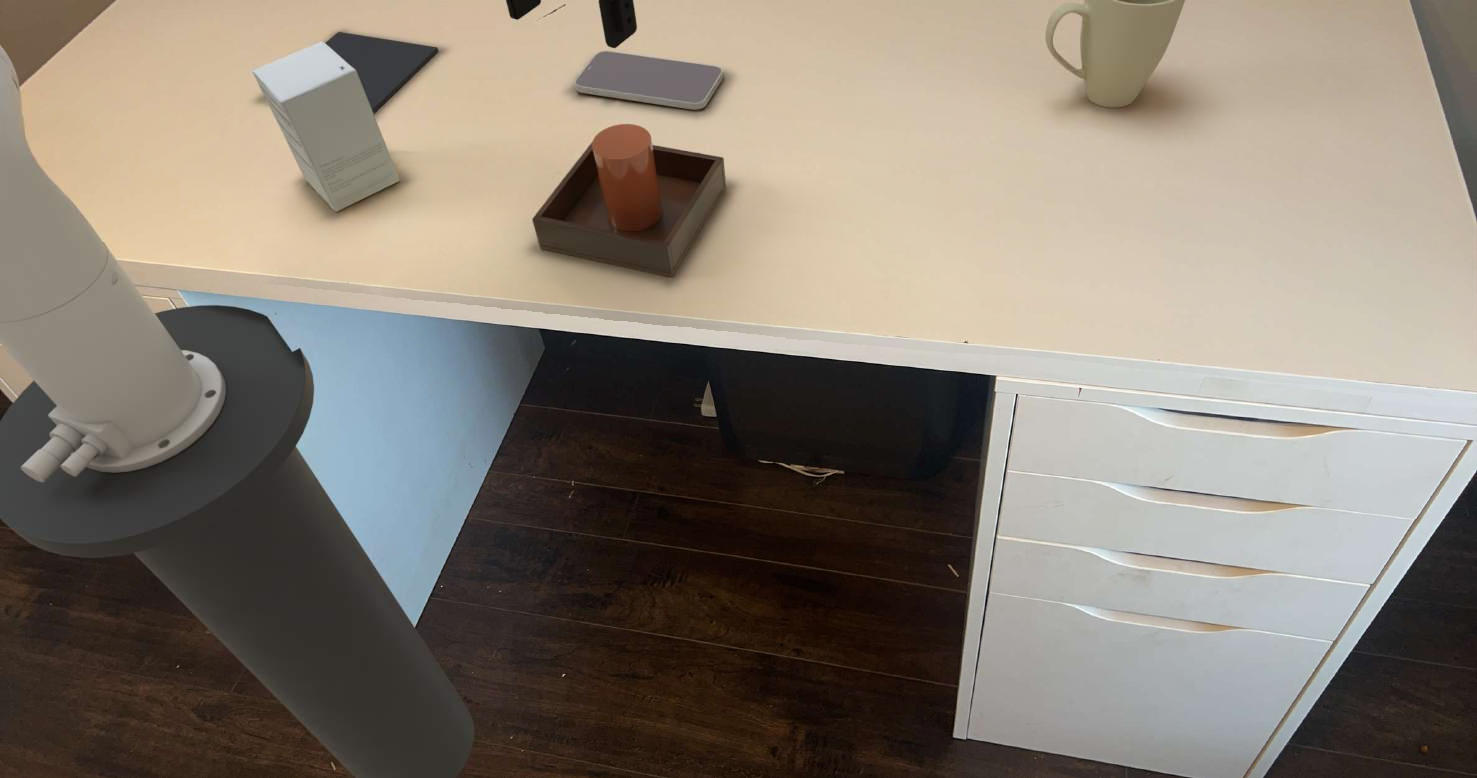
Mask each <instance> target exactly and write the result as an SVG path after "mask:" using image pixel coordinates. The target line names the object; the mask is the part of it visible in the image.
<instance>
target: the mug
mask: <svg viewBox="0 0 1477 778" xmlns="http://www.w3.org/2000/svg"><path fill="white" fill-rule="evenodd" d="M1185 2H1186V0H1084V3H1083V4H1081V3H1076V2H1066V3H1063V4H1060V5H1058V6H1057V7H1056V8H1055V9H1054V10H1053V11H1052V13H1050V16H1049V18H1048V21H1047V24H1046V28H1045V44H1046V48H1047V49H1048V51H1049V53H1050V54H1051V56H1052V57H1053V58H1054V59H1055V61H1056V62H1058V63H1059V64H1060V65H1061V66H1062V67H1063V68H1064V69H1065V70H1067V71H1068V72H1070V73H1071V74H1073V75H1074V76H1075V77H1077V78H1080V79H1083V83H1084V91H1085V96H1086V97H1087V99H1088V100H1089V101H1090V102H1091V103H1093V104H1095V105H1097V106H1100V107H1103V108H1110V109H1118V108H1125V107H1127V106H1129V105H1132V103H1134V101H1135V100H1136V98H1137V97H1138V95H1139V93H1140V92H1141V91H1142V89H1143V88H1144V86H1145V85H1146V84H1147V82H1148V80H1149V79H1150V77H1151V76H1153V75H1152V74H1153V73H1154V72H1155V70H1156V68H1157V67H1158V66H1159V64H1160V62H1161V61H1162V59H1163V58H1164V55H1165V53H1166V51H1167V49H1168V47H1169V45H1170V43H1171V39H1172V37H1173V35H1174V32H1175V29H1176V26H1177V24H1178V21H1179V19H1180V16H1181V13H1182V10H1183V7H1184V5H1185ZM1068 14H1076V15H1079V16H1080V17H1081V27H1080V37H1079V46H1080V47H1079V49H1080V60H1081V62H1080V63H1081V68H1079V69H1078V68H1076V67H1075V66H1073V65H1072V64H1071V63H1070V62H1068V61H1067V60H1066V59H1065V58H1064V57H1063V56H1062V55H1061V54H1059V52H1058V51H1057V50H1056V48H1055V46H1054V36H1055V32H1056V28H1057V26H1058V25H1059V23H1060V21H1061V20H1062V19H1063V17H1065V16H1066V15H1068Z"/></svg>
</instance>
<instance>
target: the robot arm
mask: <svg viewBox="0 0 1477 778" xmlns="http://www.w3.org/2000/svg"><path fill="white" fill-rule="evenodd" d="M505 2H506V6H507V10H508V14H509V18H511V19H513V20H517V21H518V20H520V19H522V18H524V16H526V15H527V14H529V13H531V11H533V10H534V9H536V8H538V6H540V5H541V3H542V0H505ZM598 7H599V12H600V19H601V24H602V28H603V30H602V31H603V35H604V41H605V45H606V46H607V47H609V48H611V49H616V48H618V47H619V46H620V45H621V44H623V43H624V42H625V41H627V40H628V39H629V38H630V37H632V36H633V35H634V34H635V33H636V32H637V30H638V24H637V15H636V10H635V3H634V0H598ZM22 105H23V104H22V93H21V87H20V82H19V78H18V74H17V72H16V69H15V67H14V64H13V62H12V61H11V58H10V57H9V55H8V53H7V52H6V51H5V49H4V47H2V45H1V44H0V345H1V346H3V348H4V349H5V350H6V352H8V354H10V356H11V357H12V358H13V359H14V360H15V361H16V362H17V363H18V364H19V366H20V367H21V368H22V369H23V370H24V372H26V373H27V374H28V375H29V377H30V378H31V379H32V381H35V382H36V383H37V384H38V385H39V386H40V388H41V389H42V390H43V391H44V392H45V393H46V394H47V395H48V396H49V397H50V399H51V400H52V401H53V402H54V403H55V404H56V405H57V407H56V408H54V409H53V410H52V411H51V412H50V413H49V414H48V416H49V417H50V418H51V419H52V421H53V422H54V423H55V424H56V425H57V426H56V428H54V429H53V430H52V431H51V432H50V433H49V435H50V437H51V438H52V439H51V440H50V441H49V442H48V443H47V444H46V445H45V446H44V447H42V448H41V449H39V450H38V451H37V452H36V453H35V454H34V455H32V456H31V457H30V458H29V459H28V460H27V461H26V462H25V463H24V464H23V465H22V466H21V469H22V471H24V472H25V473H26V474H27V475H28V476H30V477H31V478H33V479H35V480H37V481H39V482H45V481H46V480H47V479H48V478H49V477H50V476H51V475H52V474H53V473H54V472H55V471H56V470H57V469H58V468H59V467H61V468H62V469H63V470H64V471H65V472H67V473H68V474H70V475H72V476H75V477H77V476H78V475H79V473H80V472H81V471H82V470H83V469H84V468H85V467H88V468H90V469H93V470H97V471H101V472H112V473H117V472H128V471H134V470H138V469H142V468H146V467H149V466H152V465H155V464H157V463H160V462H163V461H165V460H166V459H168V458H170V457H172V456H174V455H176V454H178V453H179V452H181V451H183V450H184V449H186V448H187V447H189V446H190V445H191V444H192V443H194V442H195V441H196V440H197V439H198V438H200V437H201V436H202V435H203V434H204V433H205V432H206V430H207V429H208V428H209V427H210V426H211V425H212V424H213V422H214V421H215V419H216V418H217V416H218V415H219V413H220V411H221V408H222V406H223V404H224V400H225V395H226V385H225V380H224V378H223V376H222V373H221V372H220V371H219V369H218V368H217V366H216V365H215V364H214V363H213V362H212V361H211V360H210V359H209V358H207V357H205V356H203V355H201V354H199V353H195V352H191V351H187V350H180V348H179V347H178V345H177V344H176V343H175V341H174V340H173V338H172V337H171V336H170V334H169V333H168V331H167V330H166V329H165V327H164V326H163V324H162V323H161V322H160V320H159V319H158V317H157V316H156V315H155V313H156V312H155V311H154V310H153V309H152V308H151V306H150V305H149V303H148V301H146V299H145V298H144V296H143V295H142V293H141V292H140V291H139V289H138V288H137V286H136V285H135V283H134V282H133V281H132V279H131V278H130V277H129V275H128V273H126V270H124V269H123V267H122V266H121V264H120V263H119V261H118V260H117V259H116V257H115V255H114V254H113V253H112V252H111V250H110V249H109V247H108V246H107V245H106V243H105V242H104V241H103V239H102V238H101V237H100V235H99V234H98V232H97V231H96V230H95V229H94V227H93V226H92V224H91V223H90V222H89V220H88V219H87V218H86V216H85V215H84V214H83V212H82V211H81V210H80V209H79V208H78V206H77V205H76V204H75V203H74V202H73V200H72V199H71V198H70V197H69V196H68V195H67V194H66V193H65V192H64V191H63V190H62V189H61V188H60V187H59V185H57V184H56V182H54V180H52V179H51V178H50V176H49V175H48V174H47V173H46V172H45V170H44V169H43V168H42V166H41V165H40V164H39V162H38V160H37V158H36V157H35V156H34V154H33V152H32V150H31V148H30V144H29V142H28V139H27V137H26V128H25V126H26V125H25V120H24V115H23V106H22ZM70 454H71V455H70ZM69 455H70V456H69ZM68 456H69V457H68ZM67 457H68V458H67ZM66 458H67V459H66ZM65 459H66V460H65ZM64 460H65V461H64ZM63 461H64V462H63ZM62 462H63V464H62V465H61V463H62Z"/></svg>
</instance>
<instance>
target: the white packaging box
mask: <svg viewBox="0 0 1477 778" xmlns="http://www.w3.org/2000/svg"><path fill="white" fill-rule="evenodd" d="M325 43H326V42H324V41H319V42H317V43H314V44H312V45H310V46H308V47H307V46H306V47H305V48H303V49H301V50H298V51H295V52H294V53H291V54H287V55H286V56H284V57H281V58H278V59H276V60H274V61H271V62H269V63H266V64H265V65H262V66H260V67H257V68H254V69H252V70H251V72H252V74H253V77H254V78H255V81H256V83H257V84H258V87H259V88H260V90H261V93H262V94H263V97H264V99H265V100H266V103H267V105H268V107H269V109H270V111H271V113H272V115H273V117H274V119H275V121H276V123H277V124H278V127H279V129H280V131H281V133H282V135H283V137H284V140H285V141H286V144H287V145H288V148H289V150H290V152H291V154H292V156H293V158H294V160H295V162H296V164H297V166H298V169H299V171H300V172H301V174H302V176H303V178H304V180H305V181H306V182H307V183H308V185H310V186H311V188H312V189H313V190H315V192H316V193H317V194H318V195H319V196H320V197H321V198H322V199H323V201H324V202H325V203H326V204H327V205H328V206H329V207H330V208H331V209H332V210H333V211H334V212H335V213H338V212H339V211H341V210H344V209H345V208H347V207H350V206H351V205H354V204H355V203H357V202H359V201H361V200H363V199H366V198H367V197H370V196H372V195H373V194H376V193H378V192H380V191H382V190H383V189H386V188H388V187H390V186H392V185H394V184H397V183H398V182H400V181H401V179H400V176H399V174H398V172H397V168H396V166H395V164H394V162H393V158H392V157H391V153H390V151H389V149H388V146H387V144H386V142H385V139H384V137H383V134H382V132H381V129H380V126H379V124H378V121H377V119H376V116H375V113H374V114H373V111H372V109H371V106H370V104H369V101H368V99H367V96H366V94H365V91H364V89H363V86H362V84H361V81H360V79H359V76H358V74H357V71H356V70H355V69H354V68H353V67H352V66H350V65H349V64H348V63H347V62H346V61H344V60H343V59H342V58H341V57H340V56H339V55H338V54H337V53H335V52H334V51H333V50H332V49H331V48H330V47H329V46H328V45H326V44H325Z"/></svg>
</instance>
